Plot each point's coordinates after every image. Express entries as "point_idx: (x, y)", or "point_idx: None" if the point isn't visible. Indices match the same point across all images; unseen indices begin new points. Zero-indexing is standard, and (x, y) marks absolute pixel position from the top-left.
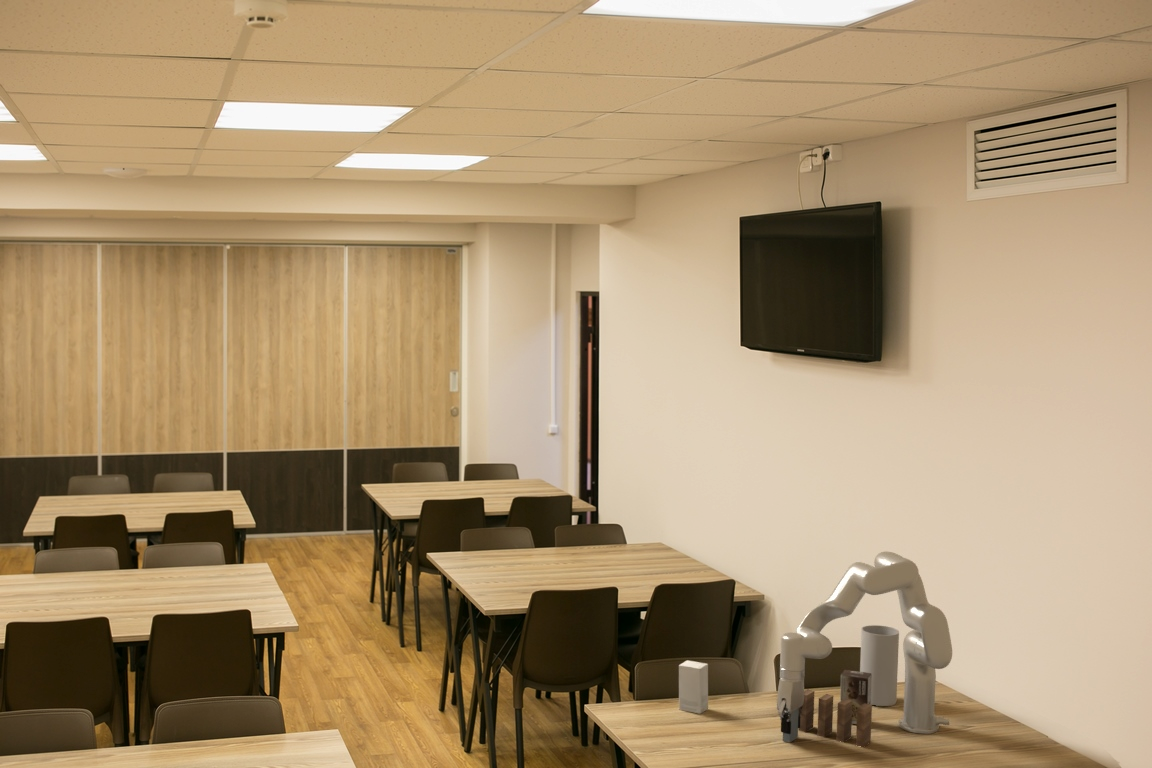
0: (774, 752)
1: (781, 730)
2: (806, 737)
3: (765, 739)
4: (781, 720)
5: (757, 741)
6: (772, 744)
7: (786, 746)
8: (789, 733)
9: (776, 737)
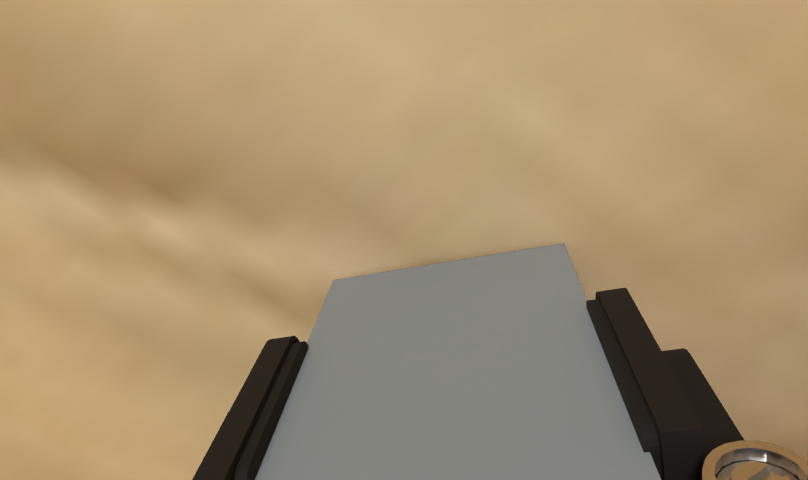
0: (28, 404)
1: (266, 357)
2: None
3: (182, 107)
4: (202, 474)
5: (38, 87)
6: (151, 267)
7: None
8: None
9: (364, 153)
